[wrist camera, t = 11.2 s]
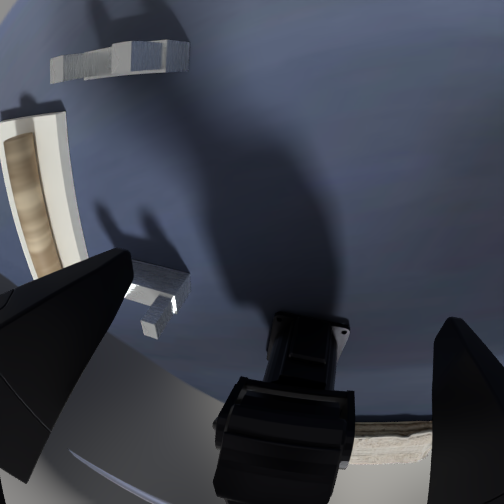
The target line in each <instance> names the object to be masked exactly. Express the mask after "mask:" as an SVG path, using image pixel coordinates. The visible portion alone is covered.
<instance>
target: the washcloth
mask: <svg viewBox="0 0 504 504" xmlns="http://www.w3.org/2000/svg"><path fill="white" fill-rule="evenodd" d="M431 449H432V421H428V422H427V421H409V422H355V437H354V444H353V450H352V454H351V458H350V461H349V464H358V465H362V464H365V465H366V464H373V465H374V464H398V463H415V462H419V461H421V459H424V458H426V457H427V456H428V453H429V451H430V450H431Z"/></svg>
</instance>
